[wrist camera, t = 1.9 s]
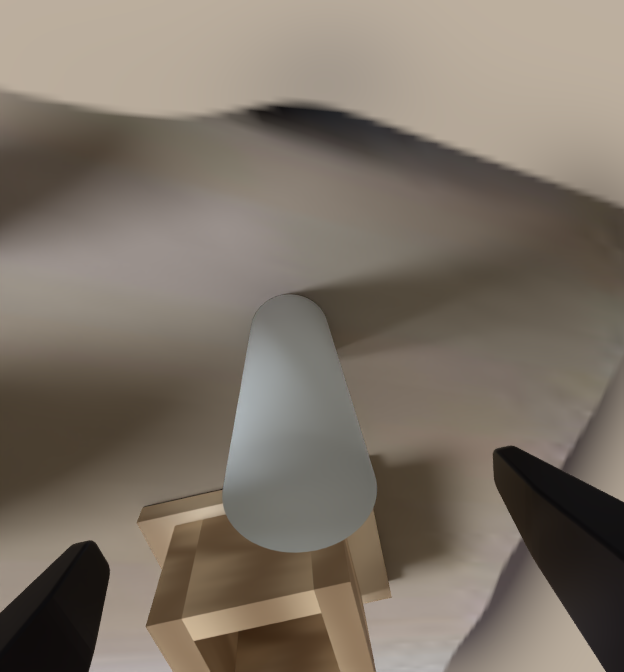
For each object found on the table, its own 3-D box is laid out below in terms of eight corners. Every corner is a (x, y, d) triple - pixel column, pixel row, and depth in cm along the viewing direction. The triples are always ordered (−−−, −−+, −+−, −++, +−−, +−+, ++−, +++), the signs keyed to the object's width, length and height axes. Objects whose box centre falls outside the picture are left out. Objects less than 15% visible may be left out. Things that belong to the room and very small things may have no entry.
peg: (262, 373, 19) (246, 566, 10) (241, 304, 18) (200, 453, 8) (334, 356, 19) (387, 534, 10) (319, 286, 18) (363, 416, 8)
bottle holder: (202, 622, 26) (181, 748, 20) (142, 507, 22) (95, 624, 16) (387, 581, 25) (417, 697, 20) (361, 458, 21) (390, 559, 16)
